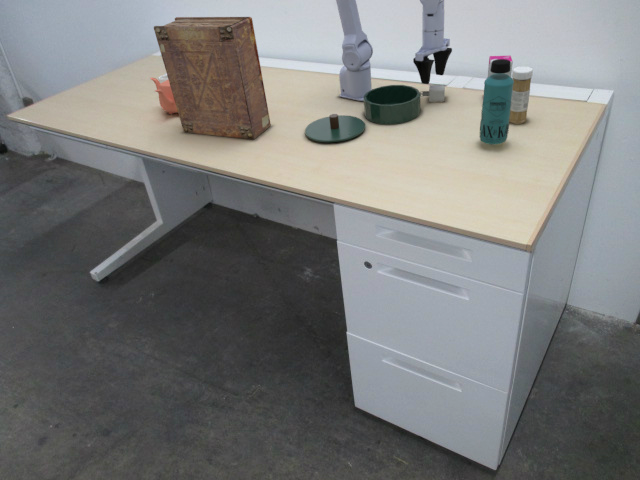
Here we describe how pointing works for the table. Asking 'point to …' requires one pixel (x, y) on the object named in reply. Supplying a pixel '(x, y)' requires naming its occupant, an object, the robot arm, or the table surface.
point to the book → (215, 75)
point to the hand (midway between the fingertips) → (432, 78)
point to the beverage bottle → (496, 104)
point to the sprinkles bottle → (520, 94)
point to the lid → (335, 128)
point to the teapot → (165, 96)
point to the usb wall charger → (435, 93)
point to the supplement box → (496, 59)
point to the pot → (392, 104)
